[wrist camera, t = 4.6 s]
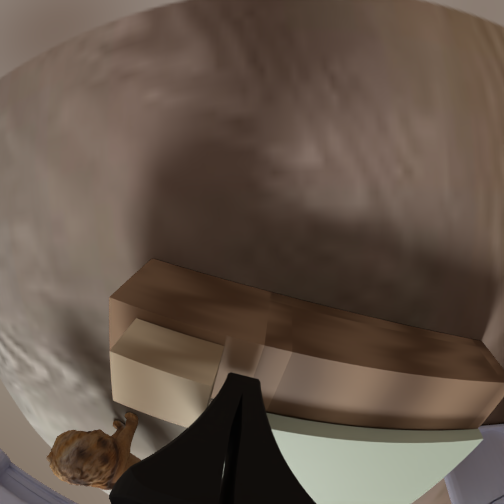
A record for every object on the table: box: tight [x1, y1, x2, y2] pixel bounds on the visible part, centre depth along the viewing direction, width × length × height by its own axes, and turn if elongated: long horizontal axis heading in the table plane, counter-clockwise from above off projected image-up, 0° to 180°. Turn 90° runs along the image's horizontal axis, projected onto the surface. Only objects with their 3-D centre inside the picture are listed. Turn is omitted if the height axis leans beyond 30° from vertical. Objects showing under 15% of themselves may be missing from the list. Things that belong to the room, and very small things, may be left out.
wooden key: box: [110, 318, 225, 428], centre depth 12 cm, size 4×3×2 cm
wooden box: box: [109, 258, 504, 431], centre depth 18 cm, size 23×20×5 cm
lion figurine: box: [47, 412, 141, 490], centre depth 19 cm, size 15×5×9 cm, turn 39°
